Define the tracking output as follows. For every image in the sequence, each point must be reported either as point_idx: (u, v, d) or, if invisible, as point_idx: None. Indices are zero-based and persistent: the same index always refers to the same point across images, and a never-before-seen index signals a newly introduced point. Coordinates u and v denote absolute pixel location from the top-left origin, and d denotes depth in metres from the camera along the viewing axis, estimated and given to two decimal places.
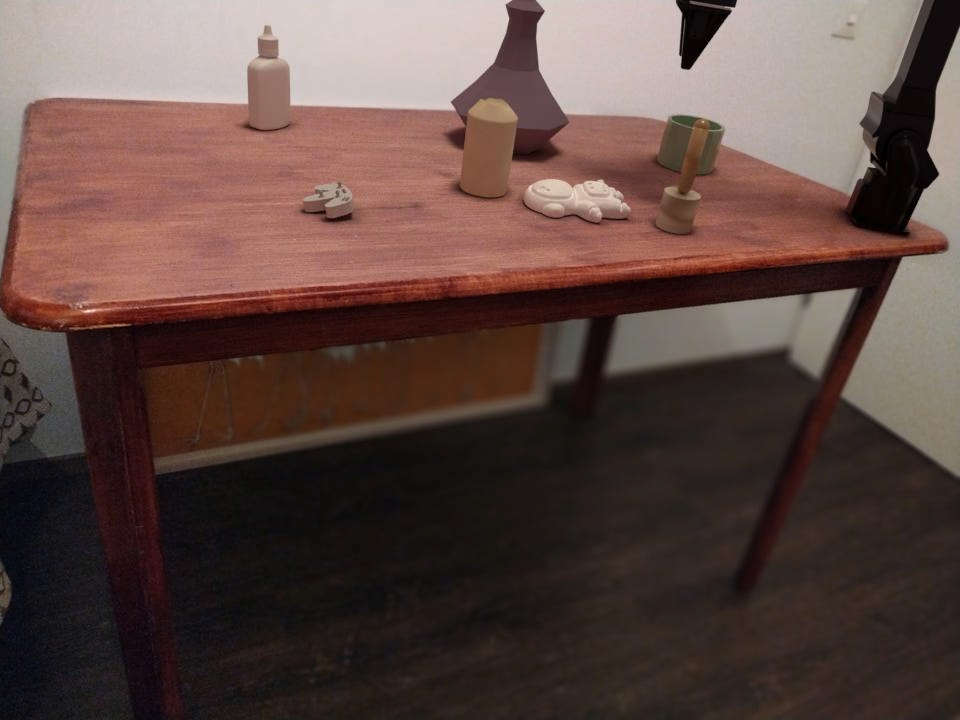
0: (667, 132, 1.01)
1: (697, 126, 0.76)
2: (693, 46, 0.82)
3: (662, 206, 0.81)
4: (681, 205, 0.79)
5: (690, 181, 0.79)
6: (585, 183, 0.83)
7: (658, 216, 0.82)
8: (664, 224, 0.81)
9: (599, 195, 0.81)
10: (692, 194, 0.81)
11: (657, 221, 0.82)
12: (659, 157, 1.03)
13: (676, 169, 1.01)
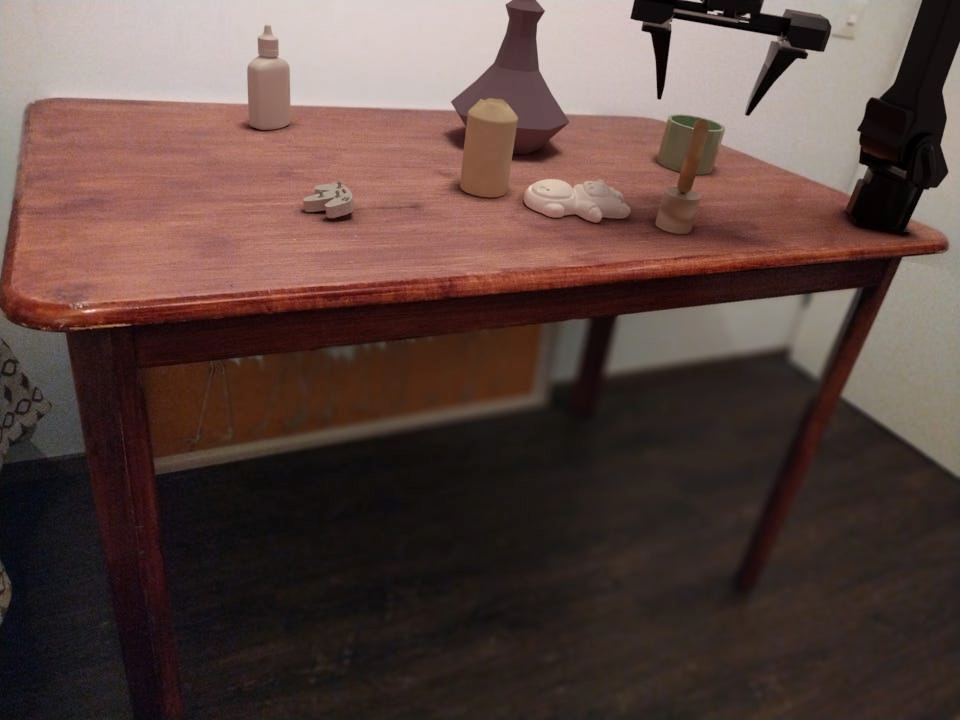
0: (667, 132, 1.01)
1: (697, 126, 0.76)
2: None
3: (662, 206, 0.81)
4: (681, 205, 0.79)
5: (690, 181, 0.79)
6: (585, 183, 0.83)
7: (658, 216, 0.82)
8: (664, 224, 0.81)
9: (599, 195, 0.81)
10: (692, 194, 0.81)
11: (657, 221, 0.82)
12: (659, 157, 1.03)
13: (676, 169, 1.01)
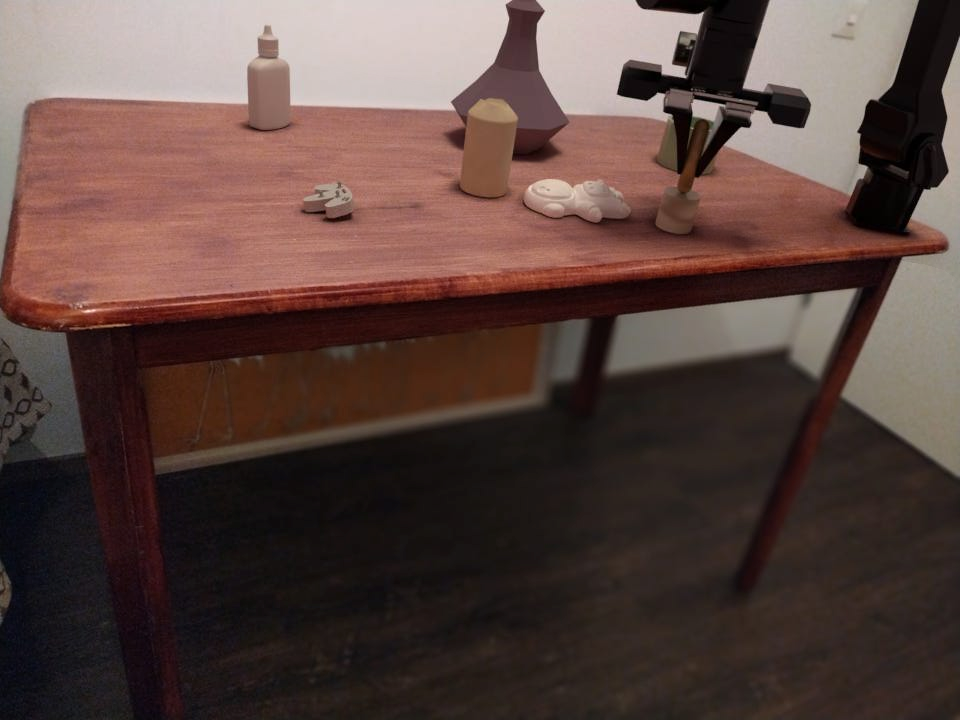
0: (667, 132, 1.01)
1: (697, 126, 0.76)
2: None
3: (662, 206, 0.81)
4: (681, 205, 0.79)
5: (690, 181, 0.79)
6: (585, 183, 0.83)
7: (658, 216, 0.82)
8: (664, 224, 0.81)
9: (599, 195, 0.81)
10: (692, 194, 0.81)
11: (657, 221, 0.82)
12: (659, 157, 1.03)
13: (676, 169, 1.01)
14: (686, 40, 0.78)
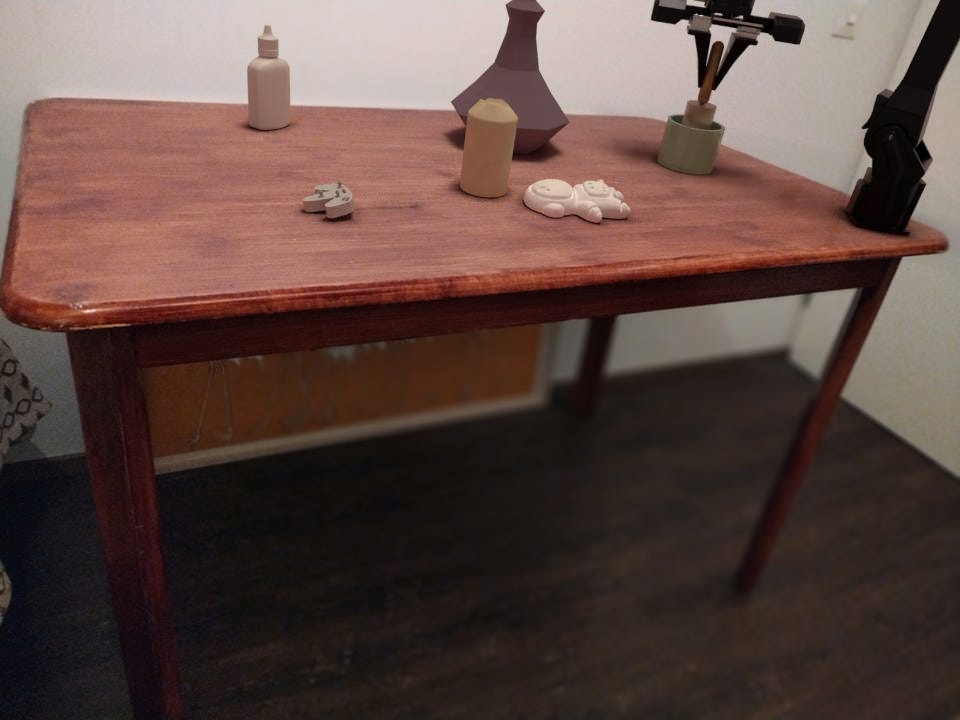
0: (667, 132, 1.01)
1: (714, 46, 0.95)
2: (697, 65, 0.97)
3: (685, 115, 1.00)
4: (701, 112, 0.98)
5: (708, 93, 0.98)
6: (585, 183, 0.83)
7: (682, 124, 1.01)
8: None
9: (599, 195, 0.81)
10: (709, 105, 1.00)
11: None
12: (659, 157, 1.03)
13: (676, 169, 1.01)
14: None
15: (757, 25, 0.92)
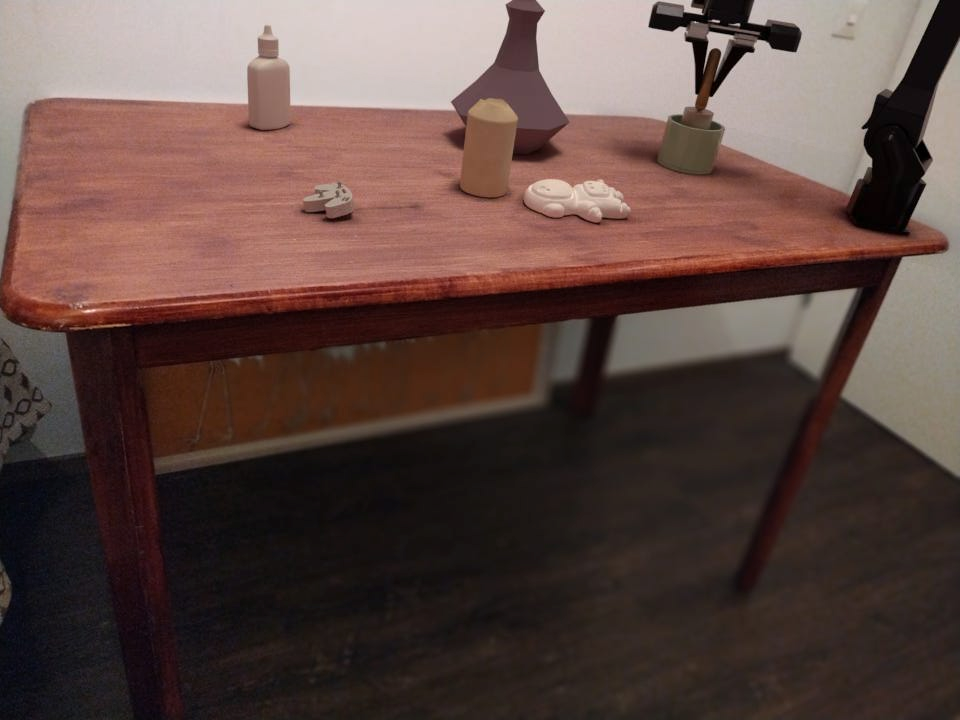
0: (667, 132, 1.01)
1: (711, 54, 0.96)
2: None
3: (683, 121, 1.01)
4: (698, 119, 0.99)
5: (705, 100, 0.99)
6: (585, 183, 0.83)
7: None
8: None
9: (599, 195, 0.81)
10: (707, 111, 1.00)
11: None
12: (659, 157, 1.03)
13: (676, 169, 1.01)
14: None
15: (754, 33, 0.93)
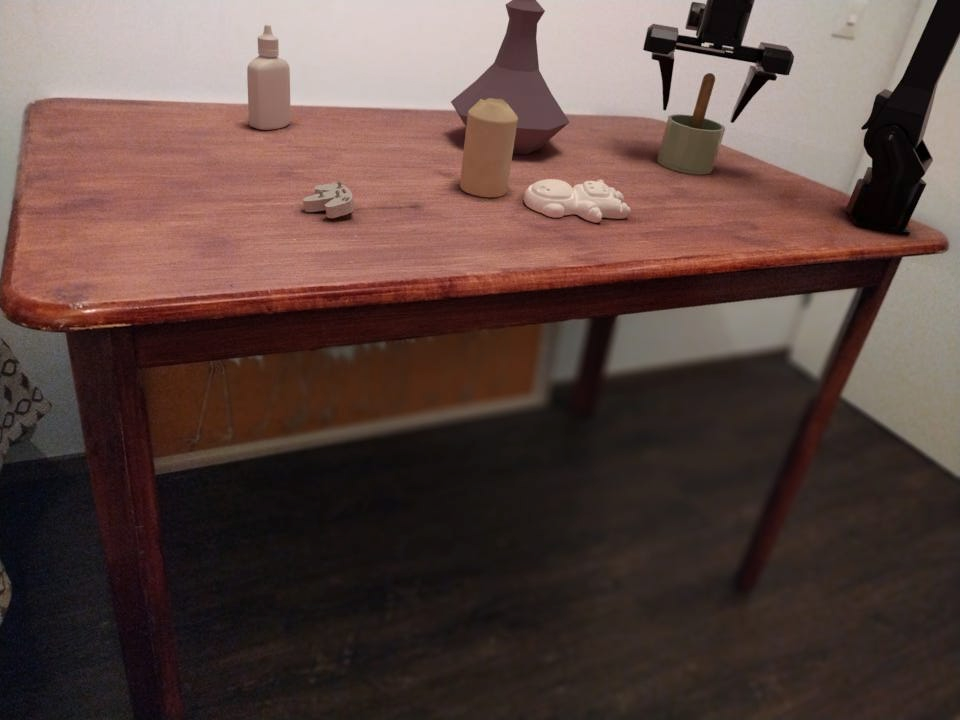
0: (667, 132, 1.01)
1: (705, 79, 0.98)
2: None
3: None
4: None
5: (700, 123, 1.00)
6: (585, 183, 0.83)
7: None
8: None
9: (599, 195, 0.81)
10: None
11: None
12: (659, 157, 1.03)
13: (676, 169, 1.01)
14: (697, 9, 0.99)
15: (719, 51, 0.95)
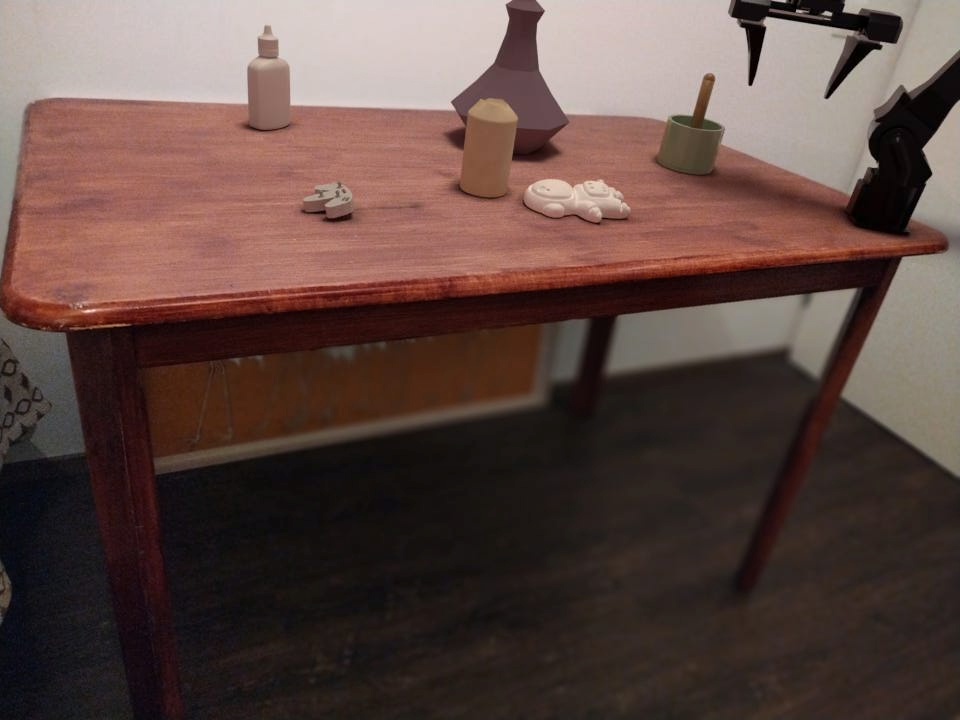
0: (667, 132, 1.01)
1: (705, 79, 0.98)
2: (748, 62, 0.90)
3: None
4: None
5: (700, 123, 1.00)
6: (585, 183, 0.83)
7: None
8: None
9: (599, 195, 0.81)
10: None
11: None
12: (659, 157, 1.03)
13: (676, 169, 1.01)
14: None
15: (817, 17, 0.85)
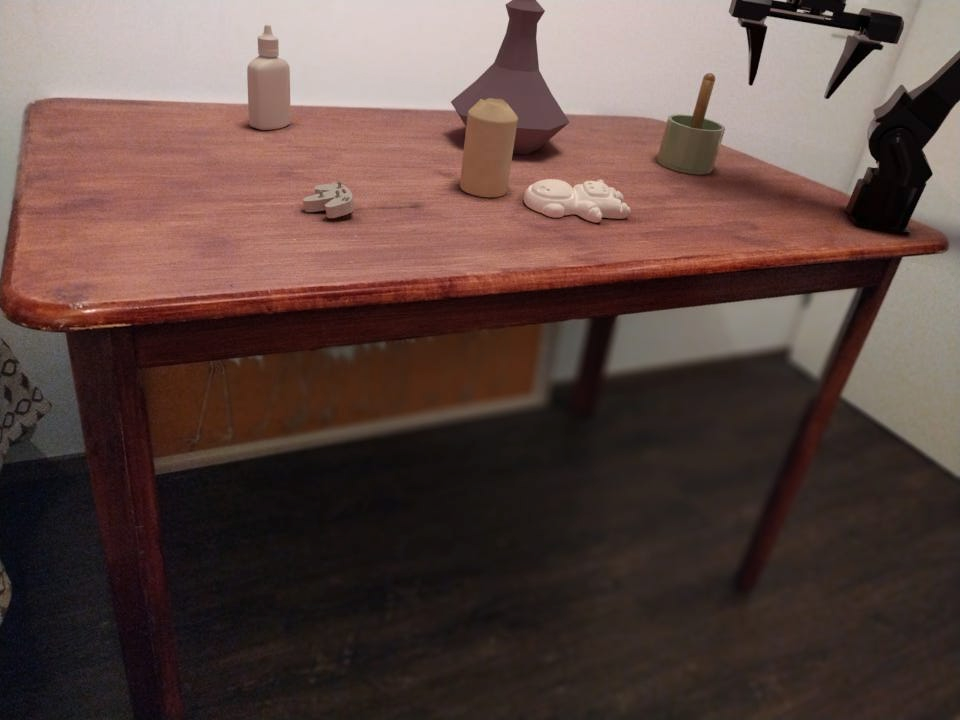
0: (667, 132, 1.01)
1: (705, 79, 0.98)
2: (749, 61, 0.90)
3: None
4: None
5: (700, 123, 1.00)
6: (585, 183, 0.83)
7: None
8: None
9: (599, 195, 0.81)
10: None
11: None
12: (659, 157, 1.03)
13: (676, 169, 1.01)
14: None
15: (818, 17, 0.84)
